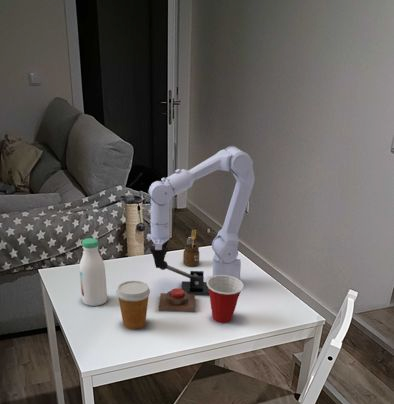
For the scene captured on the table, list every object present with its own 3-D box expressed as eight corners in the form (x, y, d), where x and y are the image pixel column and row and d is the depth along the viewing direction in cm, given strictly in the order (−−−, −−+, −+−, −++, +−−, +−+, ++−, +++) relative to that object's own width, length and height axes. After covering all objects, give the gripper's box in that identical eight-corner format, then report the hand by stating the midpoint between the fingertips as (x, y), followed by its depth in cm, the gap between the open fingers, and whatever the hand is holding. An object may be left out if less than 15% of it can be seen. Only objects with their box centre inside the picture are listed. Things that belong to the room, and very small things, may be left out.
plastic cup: (215, 331, 142) (218, 293, 136) (198, 314, 150) (199, 278, 144) (247, 323, 146) (251, 286, 140) (229, 307, 154) (231, 272, 148)
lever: (156, 269, 159) (160, 261, 157) (157, 265, 161) (160, 257, 160) (198, 286, 162) (202, 278, 160) (198, 282, 164) (202, 275, 163)
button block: (194, 298, 159) (195, 289, 157) (194, 312, 151) (194, 302, 149) (160, 297, 158) (160, 288, 157) (158, 311, 151) (158, 301, 149)
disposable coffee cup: (118, 316, 147) (117, 280, 141) (150, 316, 148) (150, 280, 142) (116, 333, 139) (114, 295, 133) (150, 332, 140) (150, 295, 133)
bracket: (181, 294, 161) (181, 278, 158) (181, 284, 168) (182, 268, 164) (211, 295, 161) (212, 279, 158) (211, 285, 168) (211, 269, 165)
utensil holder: (181, 265, 181) (182, 234, 175) (185, 259, 186) (186, 229, 180) (197, 267, 180) (198, 236, 174) (200, 261, 185) (202, 230, 179)
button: (183, 293, 155) (184, 288, 154) (183, 299, 151) (183, 294, 150) (171, 293, 155) (171, 288, 154) (170, 298, 151) (170, 293, 150)
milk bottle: (112, 298, 157) (108, 238, 146) (98, 308, 151) (93, 246, 140) (91, 293, 159) (86, 234, 149) (77, 303, 153) (71, 242, 143)
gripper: (149, 214, 158) (149, 253, 165) (144, 229, 146) (145, 271, 153) (170, 215, 158) (170, 254, 165) (168, 230, 146) (168, 272, 153)
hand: (160, 262), depth 159 cm, fingers open, 7 cm apart
